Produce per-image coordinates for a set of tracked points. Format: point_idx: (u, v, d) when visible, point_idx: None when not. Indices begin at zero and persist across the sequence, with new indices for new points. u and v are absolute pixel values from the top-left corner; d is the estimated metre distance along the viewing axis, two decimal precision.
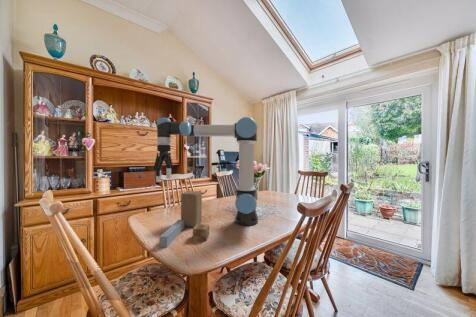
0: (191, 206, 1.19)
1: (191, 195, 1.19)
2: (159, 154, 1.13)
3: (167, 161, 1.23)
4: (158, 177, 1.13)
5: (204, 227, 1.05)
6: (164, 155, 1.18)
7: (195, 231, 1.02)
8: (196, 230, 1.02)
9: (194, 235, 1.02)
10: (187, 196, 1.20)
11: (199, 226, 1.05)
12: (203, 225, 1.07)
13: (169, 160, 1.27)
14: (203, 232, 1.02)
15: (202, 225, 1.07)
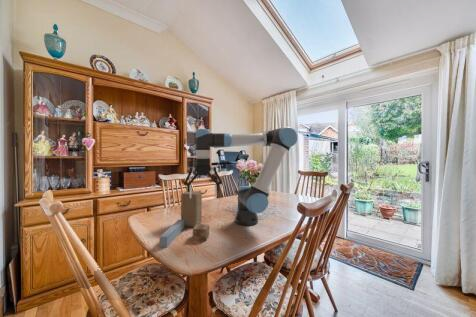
0: (191, 206, 1.19)
1: (191, 195, 1.19)
2: (190, 169, 1.06)
3: (210, 176, 1.08)
4: None
5: (204, 227, 1.05)
6: (199, 170, 1.06)
7: (195, 231, 1.02)
8: (196, 230, 1.02)
9: (194, 235, 1.02)
10: (187, 196, 1.20)
11: (199, 226, 1.05)
12: (203, 225, 1.07)
13: (216, 175, 1.09)
14: (203, 232, 1.02)
15: (202, 225, 1.07)
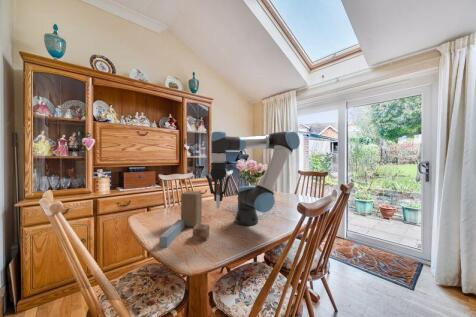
0: (191, 206, 1.19)
1: (191, 195, 1.19)
2: None
3: None
4: None
5: (204, 227, 1.05)
6: None
7: (195, 231, 1.02)
8: (196, 230, 1.02)
9: (194, 235, 1.02)
10: (187, 196, 1.20)
11: (199, 226, 1.05)
12: (203, 225, 1.07)
13: (225, 184, 1.03)
14: (203, 232, 1.02)
15: (202, 225, 1.07)
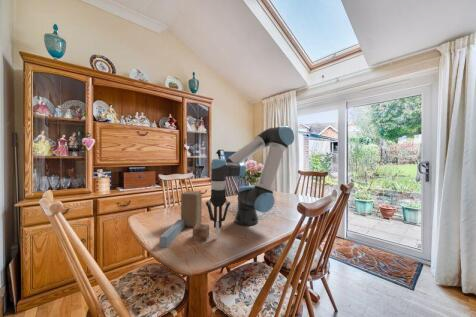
0: (191, 206, 1.19)
1: (191, 195, 1.19)
2: None
3: (219, 209, 1.04)
4: (216, 229, 1.04)
5: (204, 227, 1.05)
6: (214, 202, 1.03)
7: (195, 231, 1.02)
8: (196, 230, 1.02)
9: (194, 235, 1.02)
10: (187, 196, 1.20)
11: (199, 226, 1.05)
12: (203, 225, 1.07)
13: None
14: (203, 232, 1.02)
15: (202, 225, 1.07)
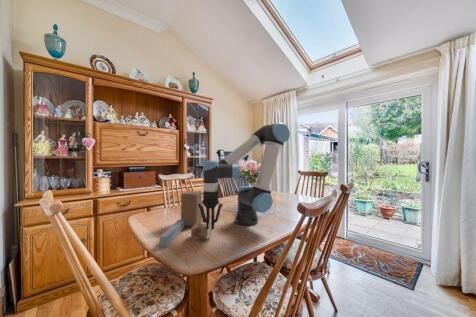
0: (191, 206, 1.19)
1: (191, 195, 1.19)
2: None
3: None
4: None
5: (203, 226, 1.05)
6: None
7: (194, 230, 1.02)
8: (194, 229, 1.02)
9: (192, 235, 1.02)
10: (187, 196, 1.20)
11: (198, 226, 1.05)
12: (202, 225, 1.07)
13: (217, 212, 1.04)
14: (202, 231, 1.02)
15: (200, 225, 1.07)
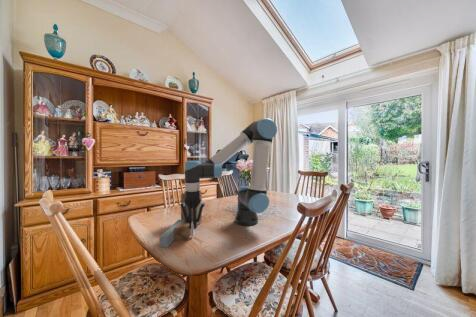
0: None
1: None
2: None
3: None
4: None
5: (186, 226, 1.05)
6: None
7: (176, 230, 1.03)
8: (177, 229, 1.03)
9: (175, 234, 1.03)
10: None
11: (181, 225, 1.06)
12: (185, 224, 1.07)
13: (199, 212, 1.05)
14: (184, 231, 1.02)
15: (184, 224, 1.08)
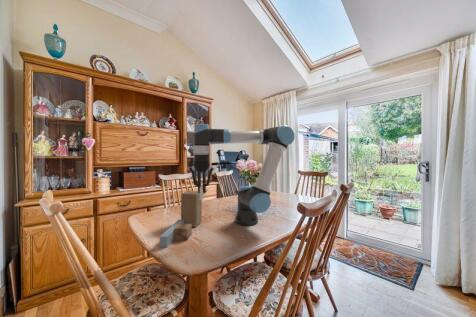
0: (191, 206, 1.19)
1: (191, 195, 1.19)
2: None
3: None
4: None
5: (186, 226, 1.05)
6: None
7: (176, 230, 1.03)
8: (177, 229, 1.03)
9: (175, 234, 1.03)
10: (187, 196, 1.20)
11: (181, 226, 1.06)
12: (185, 225, 1.07)
13: (208, 175, 1.04)
14: (184, 231, 1.02)
15: (184, 224, 1.08)
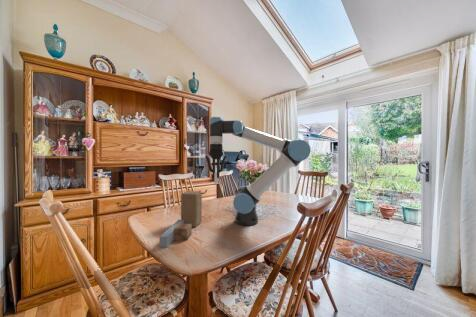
0: (191, 206, 1.19)
1: (191, 195, 1.19)
2: None
3: (217, 162, 1.18)
4: None
5: (186, 226, 1.05)
6: None
7: (176, 230, 1.03)
8: (177, 229, 1.03)
9: (175, 234, 1.03)
10: (187, 196, 1.20)
11: (181, 226, 1.06)
12: (185, 225, 1.07)
13: None
14: (184, 231, 1.02)
15: (184, 224, 1.08)
